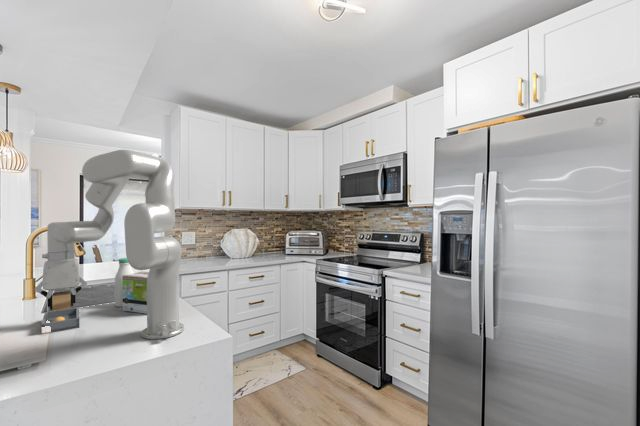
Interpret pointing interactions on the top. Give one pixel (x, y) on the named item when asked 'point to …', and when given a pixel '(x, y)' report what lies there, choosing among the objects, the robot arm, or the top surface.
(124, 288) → the tea box
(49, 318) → the tray
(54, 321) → the ball
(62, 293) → the brown wooden cube
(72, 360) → the top surface
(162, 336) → the robot arm
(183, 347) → the top surface
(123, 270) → the milk bottle
